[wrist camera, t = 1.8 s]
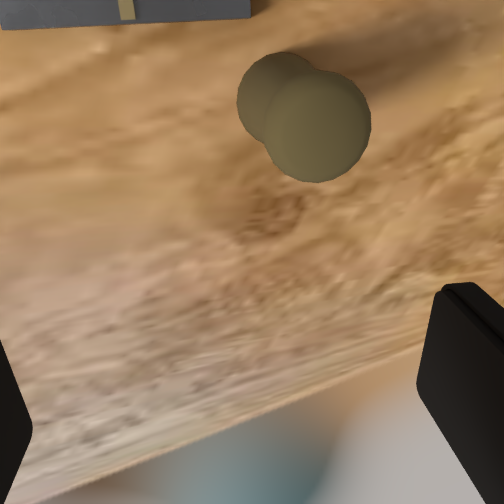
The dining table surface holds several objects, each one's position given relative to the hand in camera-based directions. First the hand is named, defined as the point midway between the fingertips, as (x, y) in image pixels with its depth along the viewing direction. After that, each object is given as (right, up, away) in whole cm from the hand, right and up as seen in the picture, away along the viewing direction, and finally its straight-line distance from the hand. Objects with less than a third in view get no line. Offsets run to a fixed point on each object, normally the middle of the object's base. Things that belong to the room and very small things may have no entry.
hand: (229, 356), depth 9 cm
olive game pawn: (+2, +13, +19) cm, 23 cm away
